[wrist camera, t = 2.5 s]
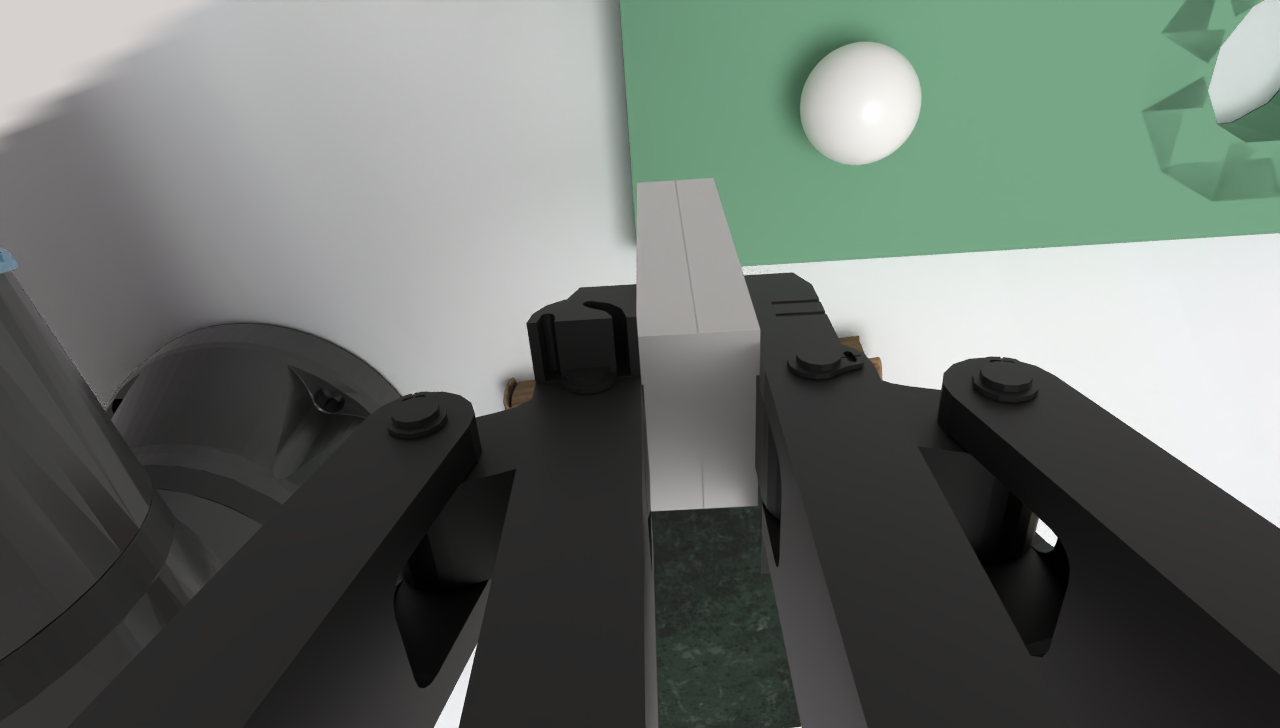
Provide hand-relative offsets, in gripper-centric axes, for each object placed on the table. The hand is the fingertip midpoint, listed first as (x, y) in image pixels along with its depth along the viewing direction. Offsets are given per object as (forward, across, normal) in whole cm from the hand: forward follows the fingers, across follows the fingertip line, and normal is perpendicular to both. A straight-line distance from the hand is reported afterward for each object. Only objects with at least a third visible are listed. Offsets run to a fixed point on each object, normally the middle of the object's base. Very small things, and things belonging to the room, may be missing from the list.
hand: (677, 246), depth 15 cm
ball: (+13, +7, 0) cm, 14 cm away
